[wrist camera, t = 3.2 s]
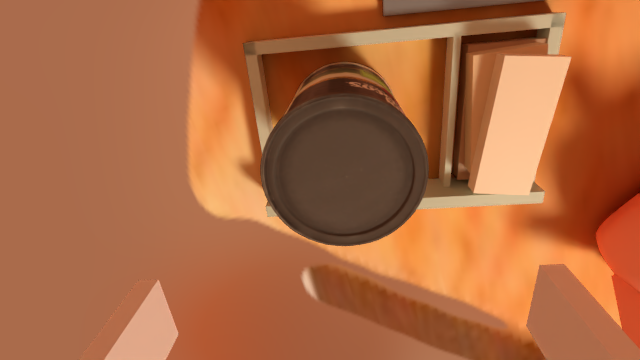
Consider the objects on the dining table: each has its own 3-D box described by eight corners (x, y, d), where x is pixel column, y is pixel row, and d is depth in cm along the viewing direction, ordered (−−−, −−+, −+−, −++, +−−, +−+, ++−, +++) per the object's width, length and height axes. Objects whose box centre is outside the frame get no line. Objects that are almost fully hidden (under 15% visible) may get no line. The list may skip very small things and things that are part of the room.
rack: (248, 41, 32) (232, 46, 27) (552, 12, 29) (592, 12, 25) (274, 197, 38) (265, 223, 34) (522, 183, 36) (549, 209, 31)
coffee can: (343, 35, 31) (344, 52, 18) (418, 115, 34) (465, 179, 21) (268, 116, 35) (226, 177, 22) (342, 183, 37) (342, 272, 25)
